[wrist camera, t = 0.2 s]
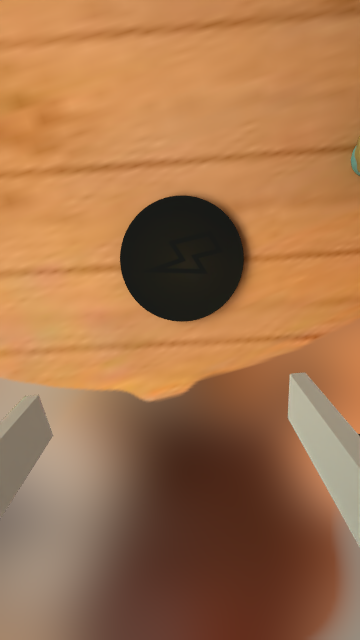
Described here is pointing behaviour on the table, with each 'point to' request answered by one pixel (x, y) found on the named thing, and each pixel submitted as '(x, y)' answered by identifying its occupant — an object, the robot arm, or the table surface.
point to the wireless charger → (181, 258)
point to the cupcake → (356, 158)
